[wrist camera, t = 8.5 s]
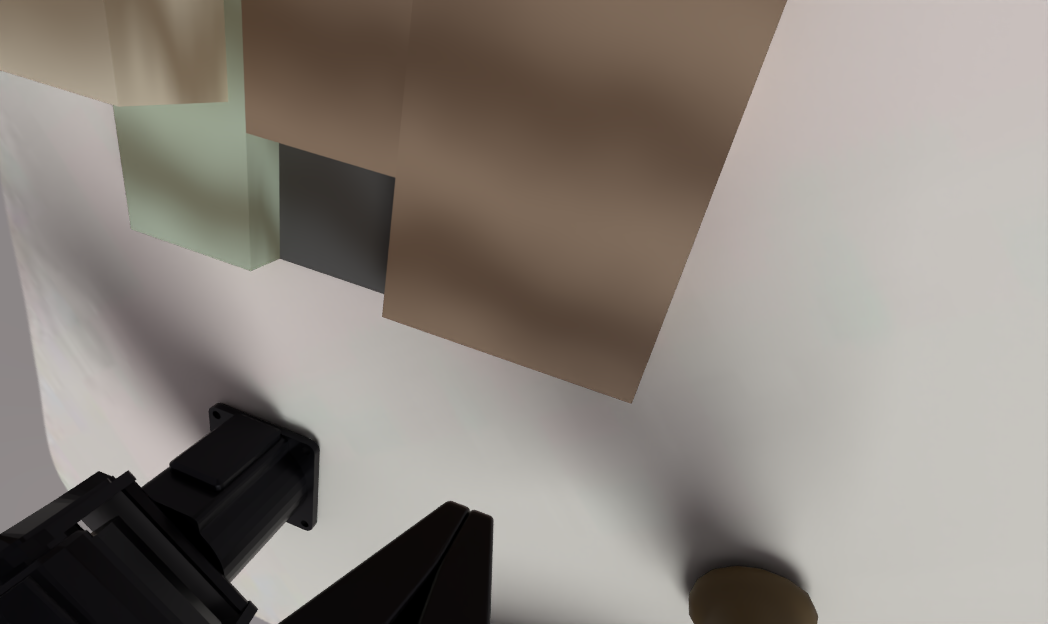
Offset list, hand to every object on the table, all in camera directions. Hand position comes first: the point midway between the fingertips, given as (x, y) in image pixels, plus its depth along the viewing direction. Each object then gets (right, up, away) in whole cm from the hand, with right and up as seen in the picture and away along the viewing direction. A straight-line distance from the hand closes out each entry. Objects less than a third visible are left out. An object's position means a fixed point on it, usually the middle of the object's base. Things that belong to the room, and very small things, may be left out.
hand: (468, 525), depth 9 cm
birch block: (-11, +14, +9) cm, 20 cm away
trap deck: (-3, +12, +9) cm, 15 cm away
